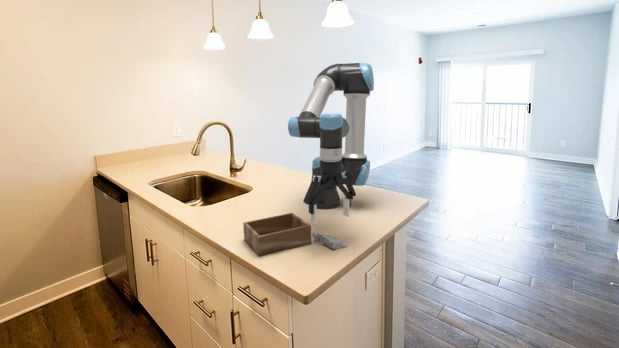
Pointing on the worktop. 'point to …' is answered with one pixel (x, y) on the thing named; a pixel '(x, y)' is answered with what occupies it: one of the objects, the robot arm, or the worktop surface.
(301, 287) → the worktop surface
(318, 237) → the mineral specimen
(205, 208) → the worktop surface
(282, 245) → the walnut well
